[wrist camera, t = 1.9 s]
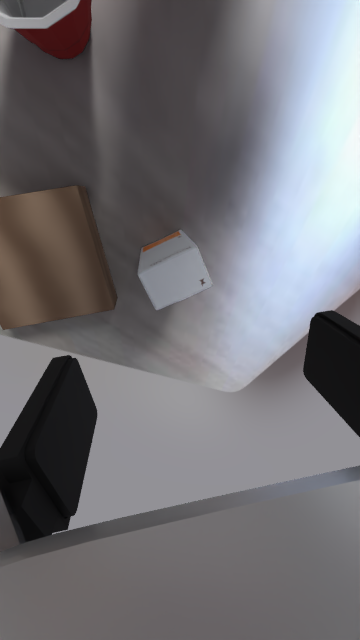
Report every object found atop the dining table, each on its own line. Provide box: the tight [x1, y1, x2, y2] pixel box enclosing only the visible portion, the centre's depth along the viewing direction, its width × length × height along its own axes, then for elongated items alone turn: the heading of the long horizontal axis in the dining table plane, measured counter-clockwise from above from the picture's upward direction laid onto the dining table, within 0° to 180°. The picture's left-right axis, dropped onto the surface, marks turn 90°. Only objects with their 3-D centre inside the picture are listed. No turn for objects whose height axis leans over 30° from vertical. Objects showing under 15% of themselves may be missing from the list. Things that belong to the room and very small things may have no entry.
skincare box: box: [138, 230, 213, 310], centre depth 27 cm, size 6×4×12 cm
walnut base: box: [0, 185, 117, 330], centre depth 29 cm, size 14×14×4 cm
